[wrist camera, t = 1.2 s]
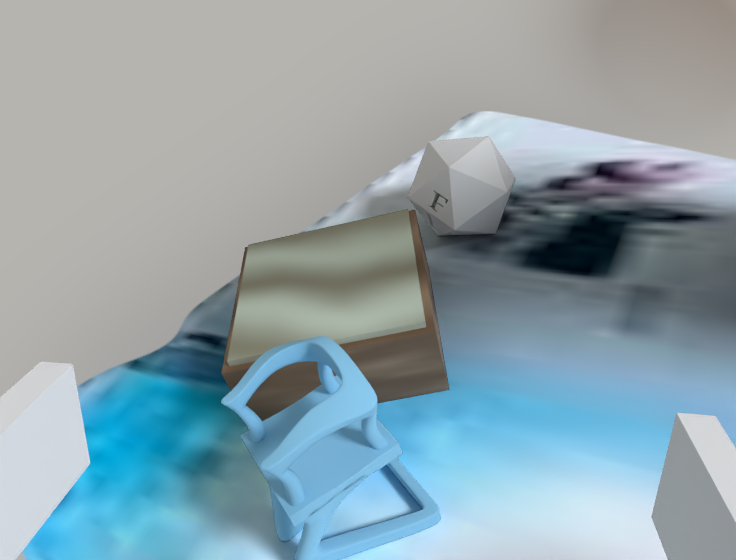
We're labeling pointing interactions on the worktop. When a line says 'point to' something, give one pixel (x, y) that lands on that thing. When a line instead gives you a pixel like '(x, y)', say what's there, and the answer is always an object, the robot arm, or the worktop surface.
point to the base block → (339, 309)
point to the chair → (324, 451)
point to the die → (462, 186)
